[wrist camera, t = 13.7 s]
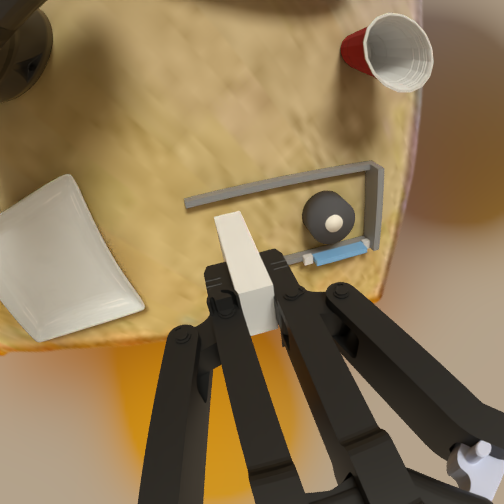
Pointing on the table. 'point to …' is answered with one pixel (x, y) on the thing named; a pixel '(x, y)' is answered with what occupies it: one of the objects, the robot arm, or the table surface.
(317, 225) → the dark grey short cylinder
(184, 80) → the table surface
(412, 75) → the plastic cup
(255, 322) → the robot arm
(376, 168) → the gray u-shaped frame
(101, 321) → the square plate
